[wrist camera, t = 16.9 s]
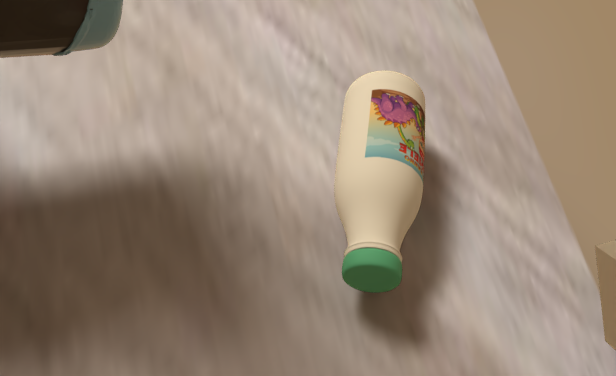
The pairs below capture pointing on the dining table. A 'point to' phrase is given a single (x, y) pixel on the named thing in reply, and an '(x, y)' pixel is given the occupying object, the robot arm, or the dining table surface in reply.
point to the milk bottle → (379, 175)
